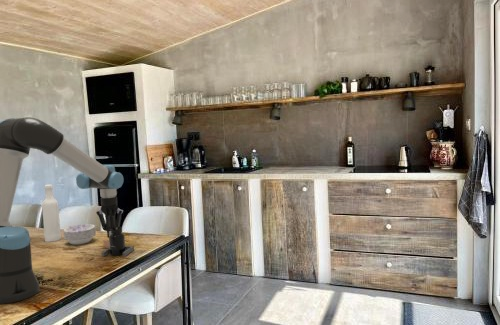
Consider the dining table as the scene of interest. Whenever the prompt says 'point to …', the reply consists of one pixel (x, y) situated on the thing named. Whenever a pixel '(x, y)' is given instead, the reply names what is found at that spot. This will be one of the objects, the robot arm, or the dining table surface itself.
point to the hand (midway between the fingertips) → (112, 243)
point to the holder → (106, 244)
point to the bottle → (51, 216)
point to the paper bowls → (79, 233)
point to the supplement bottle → (117, 242)
